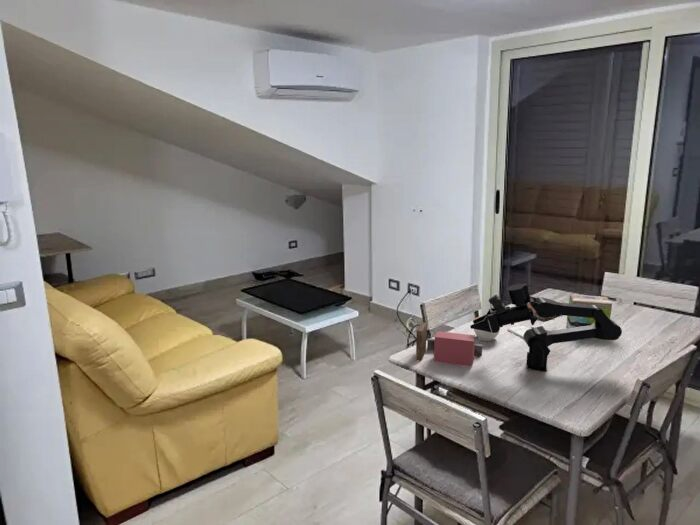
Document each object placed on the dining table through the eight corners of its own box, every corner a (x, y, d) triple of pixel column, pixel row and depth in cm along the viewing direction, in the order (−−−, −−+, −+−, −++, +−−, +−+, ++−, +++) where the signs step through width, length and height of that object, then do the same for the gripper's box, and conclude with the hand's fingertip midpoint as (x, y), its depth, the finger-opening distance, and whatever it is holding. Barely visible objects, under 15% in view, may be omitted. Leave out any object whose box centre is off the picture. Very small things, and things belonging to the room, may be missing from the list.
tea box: (569, 334, 218) (573, 300, 214) (566, 325, 227) (569, 293, 223) (608, 336, 214) (612, 303, 211) (603, 328, 224) (606, 295, 220)
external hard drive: (526, 342, 212) (507, 331, 223) (542, 339, 215) (522, 328, 226) (526, 338, 211) (507, 327, 223) (542, 335, 214) (523, 325, 225)
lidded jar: (489, 345, 207) (490, 323, 205) (467, 337, 215) (468, 316, 213) (504, 338, 214) (506, 317, 211) (483, 331, 222) (484, 310, 219)
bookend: (482, 354, 199) (483, 325, 196) (478, 368, 187) (480, 337, 184) (423, 347, 206) (423, 318, 203) (416, 360, 194) (416, 330, 192)
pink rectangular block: (473, 360, 194) (475, 335, 192) (472, 366, 189) (473, 341, 186) (436, 355, 199) (437, 331, 196) (433, 361, 193) (434, 336, 191)
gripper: (509, 289, 193) (468, 299, 198) (507, 296, 176) (462, 307, 181) (517, 318, 193) (476, 327, 198) (516, 328, 175) (471, 338, 181)
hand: (471, 324), depth 189 cm, fingers open, 9 cm apart
